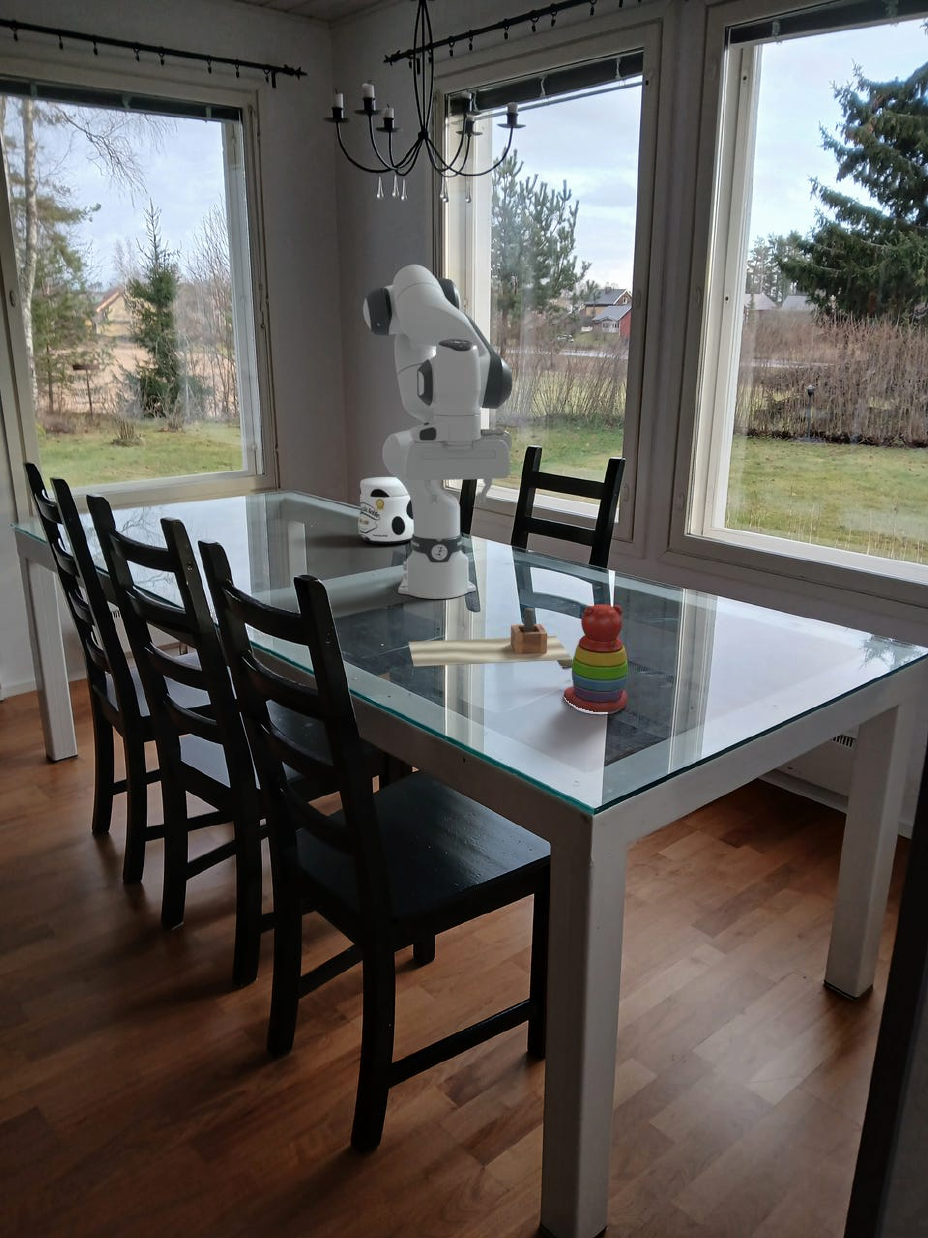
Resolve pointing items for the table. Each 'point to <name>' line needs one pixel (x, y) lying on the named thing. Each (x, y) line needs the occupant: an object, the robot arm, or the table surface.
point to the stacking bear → (599, 662)
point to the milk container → (385, 511)
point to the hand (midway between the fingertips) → (457, 502)
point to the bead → (528, 640)
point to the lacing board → (485, 650)
